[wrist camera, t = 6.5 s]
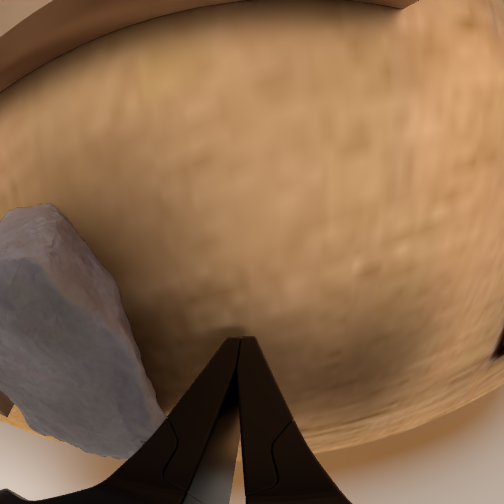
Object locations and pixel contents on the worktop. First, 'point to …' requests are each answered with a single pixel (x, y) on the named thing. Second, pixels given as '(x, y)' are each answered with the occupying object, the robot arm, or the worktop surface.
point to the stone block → (69, 339)
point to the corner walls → (77, 36)
